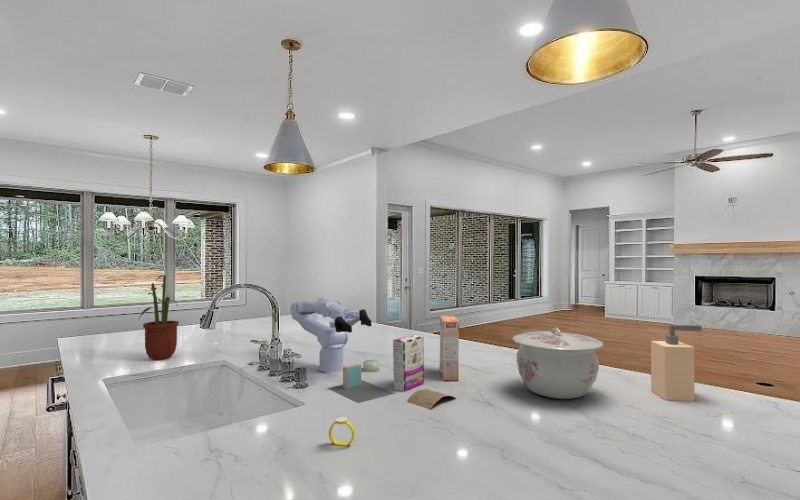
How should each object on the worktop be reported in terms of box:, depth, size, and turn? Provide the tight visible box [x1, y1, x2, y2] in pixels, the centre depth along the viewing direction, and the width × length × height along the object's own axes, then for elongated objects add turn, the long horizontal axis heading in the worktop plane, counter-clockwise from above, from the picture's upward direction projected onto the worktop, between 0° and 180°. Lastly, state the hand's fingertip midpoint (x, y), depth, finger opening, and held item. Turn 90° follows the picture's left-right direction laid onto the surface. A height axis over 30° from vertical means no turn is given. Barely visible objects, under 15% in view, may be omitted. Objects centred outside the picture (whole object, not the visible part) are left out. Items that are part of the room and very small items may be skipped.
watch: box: [328, 416, 356, 447], centre depth 101 cm, size 6×3×6 cm, turn 79°
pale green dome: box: [362, 359, 380, 373], centre depth 164 cm, size 6×6×4 cm
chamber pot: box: [511, 327, 605, 400], centre depth 139 cm, size 28×28×21 cm
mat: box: [326, 379, 396, 404], centre depth 139 cm, size 18×14×1 cm
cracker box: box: [439, 315, 460, 382], centre depth 158 cm, size 14×6×21 cm, turn 179°
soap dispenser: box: [650, 324, 703, 402], centre depth 135 cm, size 13×9×22 cm
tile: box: [342, 363, 362, 389], centre depth 143 cm, size 2×6×7 cm, turn 130°
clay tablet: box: [406, 388, 456, 411], centre depth 131 cm, size 14×10×3 cm
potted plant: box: [138, 274, 180, 361], centre depth 183 cm, size 17×16×35 cm
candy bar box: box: [392, 334, 425, 393], centre depth 144 cm, size 11×5×16 cm, turn 143°
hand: (360, 326), depth 148 cm, fingers open, 7 cm apart
